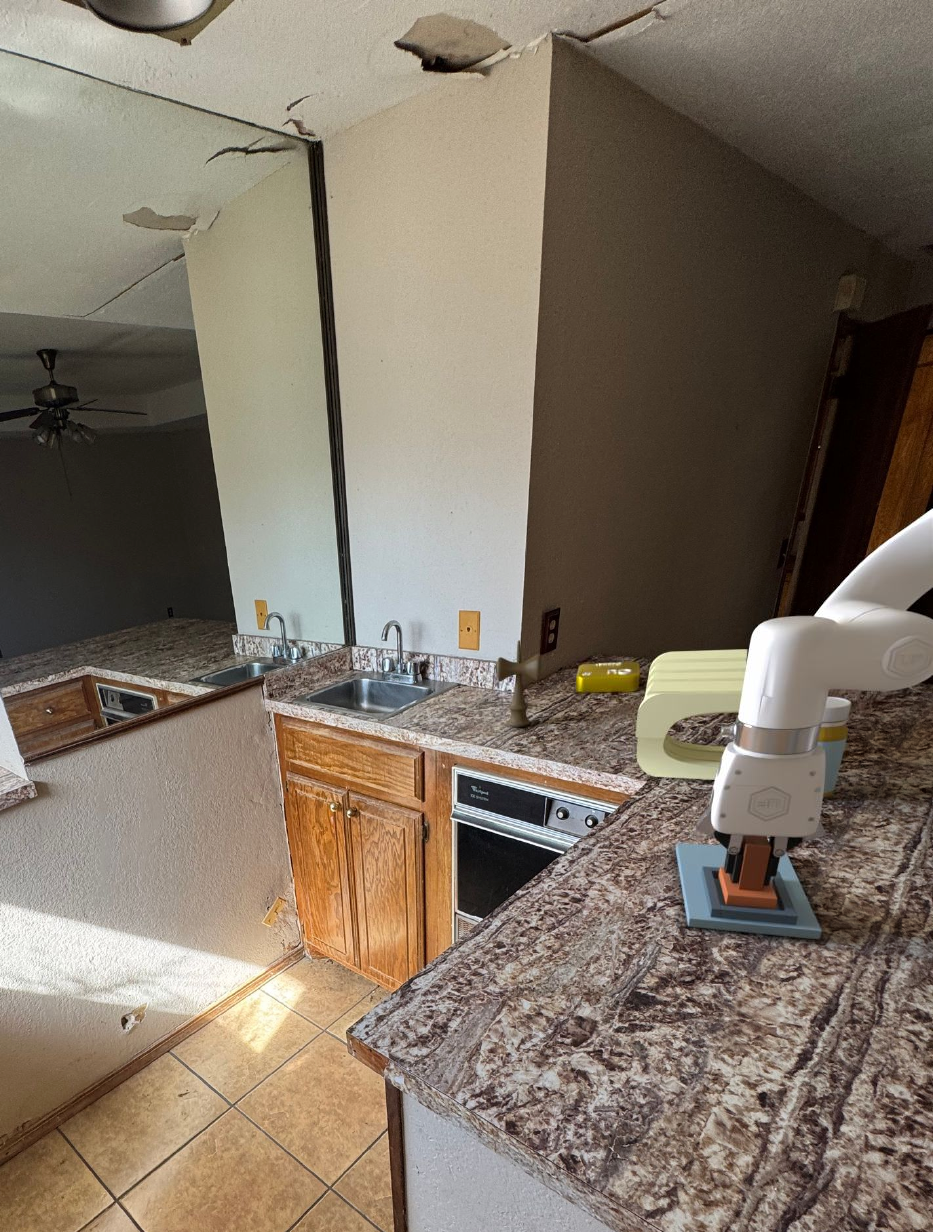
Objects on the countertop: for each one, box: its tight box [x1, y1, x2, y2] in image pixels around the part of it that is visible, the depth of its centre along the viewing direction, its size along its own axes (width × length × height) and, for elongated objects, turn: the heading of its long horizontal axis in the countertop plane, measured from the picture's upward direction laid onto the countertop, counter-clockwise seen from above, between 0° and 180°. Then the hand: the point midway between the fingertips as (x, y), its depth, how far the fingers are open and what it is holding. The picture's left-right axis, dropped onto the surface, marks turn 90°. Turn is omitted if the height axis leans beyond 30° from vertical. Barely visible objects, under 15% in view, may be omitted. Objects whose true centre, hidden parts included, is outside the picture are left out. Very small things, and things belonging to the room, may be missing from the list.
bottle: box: [817, 696, 852, 799], centre depth 102 cm, size 7×7×15 cm
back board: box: [675, 842, 823, 940], centre depth 84 cm, size 13×20×2 cm, turn 157°
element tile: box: [575, 661, 641, 694], centre depth 173 cm, size 15×15×5 cm
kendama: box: [496, 639, 542, 728], centre depth 150 cm, size 6×10×20 cm, turn 71°
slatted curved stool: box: [635, 649, 748, 781], centre depth 117 cm, size 30×16×18 cm, turn 151°
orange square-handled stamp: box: [718, 835, 777, 909], centre depth 79 cm, size 5×7×8 cm
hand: (748, 878), depth 79 cm, fingers closed on orange square-handled stamp, 2 cm apart
